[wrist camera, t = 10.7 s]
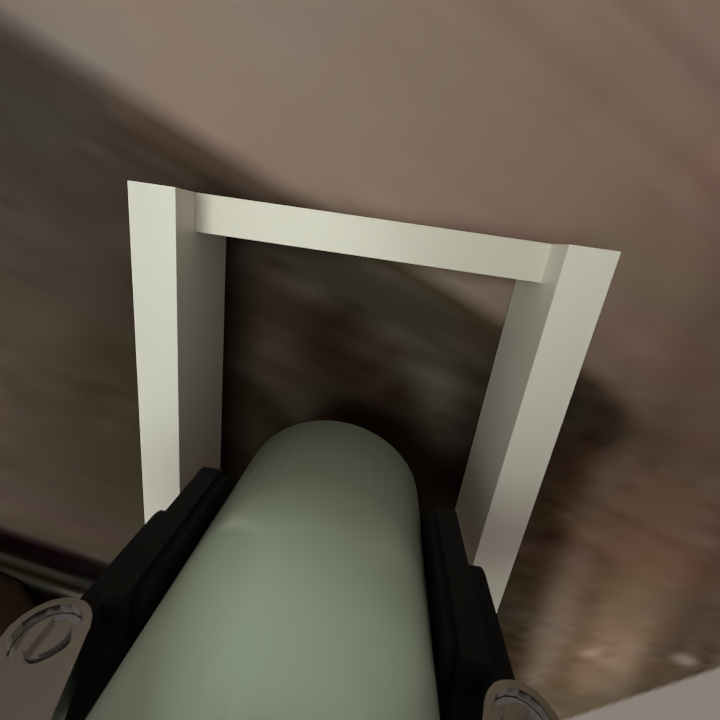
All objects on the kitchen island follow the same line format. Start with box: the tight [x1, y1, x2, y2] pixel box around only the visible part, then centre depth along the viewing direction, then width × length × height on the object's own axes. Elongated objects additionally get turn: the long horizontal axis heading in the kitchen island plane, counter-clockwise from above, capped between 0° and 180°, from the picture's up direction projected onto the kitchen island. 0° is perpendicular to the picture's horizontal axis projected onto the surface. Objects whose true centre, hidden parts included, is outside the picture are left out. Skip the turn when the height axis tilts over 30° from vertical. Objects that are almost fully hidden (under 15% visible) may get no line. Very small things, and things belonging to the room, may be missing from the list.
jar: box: [85, 421, 440, 720], centre depth 8 cm, size 6×6×9 cm
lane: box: [128, 181, 621, 614], centre depth 11 cm, size 12×19×7 cm, turn 172°
